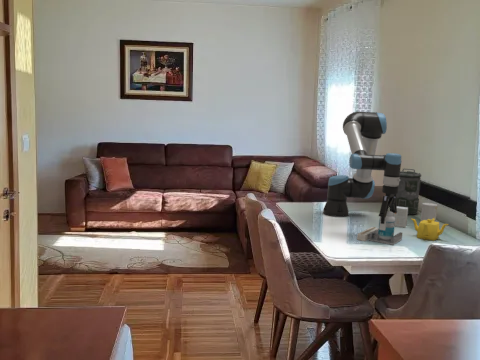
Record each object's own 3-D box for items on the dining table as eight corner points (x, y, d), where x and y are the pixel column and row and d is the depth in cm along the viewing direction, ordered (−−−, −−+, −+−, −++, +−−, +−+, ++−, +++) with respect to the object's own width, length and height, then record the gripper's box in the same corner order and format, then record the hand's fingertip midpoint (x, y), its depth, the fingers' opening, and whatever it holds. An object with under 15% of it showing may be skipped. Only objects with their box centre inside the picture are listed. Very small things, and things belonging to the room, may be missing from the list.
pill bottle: (375, 236, 270) (378, 209, 268) (390, 236, 270) (392, 210, 268) (380, 240, 262) (383, 213, 260) (395, 240, 263) (398, 213, 261)
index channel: (369, 240, 264) (369, 233, 263) (378, 235, 276) (378, 228, 275) (393, 245, 258) (394, 237, 257) (401, 239, 269) (402, 232, 269)
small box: (406, 225, 303) (408, 207, 301) (405, 227, 298) (407, 209, 296) (392, 223, 306) (393, 205, 305) (390, 225, 301) (392, 207, 300)
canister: (390, 213, 338) (394, 168, 334) (392, 209, 353) (396, 166, 349) (416, 216, 333) (421, 171, 329) (417, 211, 347) (422, 168, 343)
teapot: (423, 241, 268) (425, 222, 267) (407, 234, 282) (409, 216, 281) (448, 241, 272) (450, 222, 271) (432, 234, 286) (434, 216, 284)
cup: (436, 227, 304) (438, 206, 303) (421, 225, 306) (423, 204, 304) (434, 224, 312) (436, 203, 310) (419, 222, 314) (421, 202, 312)
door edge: (357, 239, 264) (357, 232, 264) (370, 232, 281) (371, 226, 280) (364, 241, 262) (365, 234, 261) (378, 234, 279) (378, 227, 278)
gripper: (390, 188, 250) (386, 233, 253) (405, 183, 271) (401, 224, 274) (374, 186, 254) (370, 230, 257) (391, 181, 275) (387, 222, 278)
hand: (386, 227), depth 266 cm, fingers open, 13 cm apart
